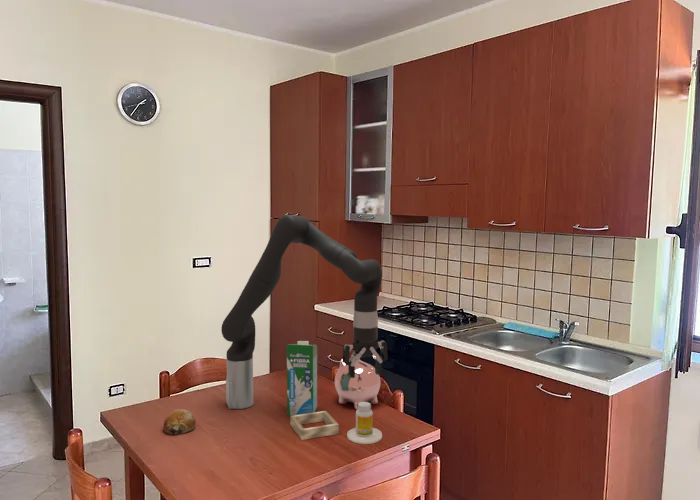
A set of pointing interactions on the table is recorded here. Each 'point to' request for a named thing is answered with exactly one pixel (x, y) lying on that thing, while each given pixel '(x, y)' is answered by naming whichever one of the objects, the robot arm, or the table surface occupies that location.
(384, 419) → the table surface
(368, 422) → the supplement bottle
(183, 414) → the bread roll
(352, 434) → the coaster
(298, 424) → the frame
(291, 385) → the milk carton
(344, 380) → the piggy bank
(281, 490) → the table surface
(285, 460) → the table surface
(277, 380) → the table surface
